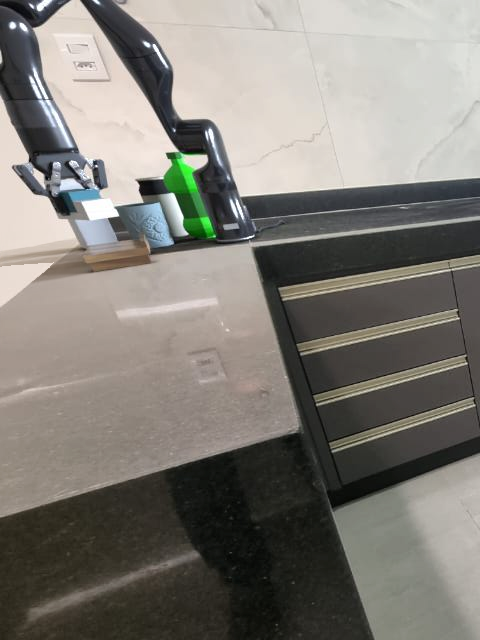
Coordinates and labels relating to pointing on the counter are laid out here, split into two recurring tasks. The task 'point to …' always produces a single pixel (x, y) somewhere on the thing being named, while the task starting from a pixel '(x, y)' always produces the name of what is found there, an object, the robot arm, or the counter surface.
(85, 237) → the milk carton
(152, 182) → the travel mug
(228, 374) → the counter surface
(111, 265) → the wooden tray
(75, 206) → the two-tone teal block
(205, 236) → the plastic bottle
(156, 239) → the blue embossed mug
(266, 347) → the counter surface
